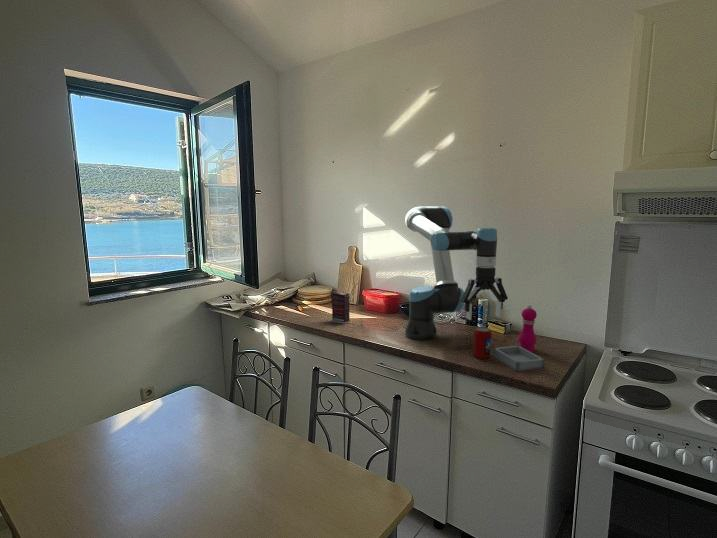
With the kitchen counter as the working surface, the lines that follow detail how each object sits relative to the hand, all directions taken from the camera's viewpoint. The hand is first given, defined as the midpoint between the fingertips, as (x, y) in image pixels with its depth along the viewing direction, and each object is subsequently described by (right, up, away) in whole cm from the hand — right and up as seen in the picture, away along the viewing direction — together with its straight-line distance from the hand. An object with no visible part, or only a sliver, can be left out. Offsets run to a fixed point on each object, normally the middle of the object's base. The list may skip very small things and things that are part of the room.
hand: (483, 317), depth 167 cm
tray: (+13, -17, -3) cm, 22 cm away
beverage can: (0, -17, +3) cm, 17 cm away
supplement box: (-61, -9, +52) cm, 81 cm away
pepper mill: (+22, -15, +11) cm, 29 cm away
